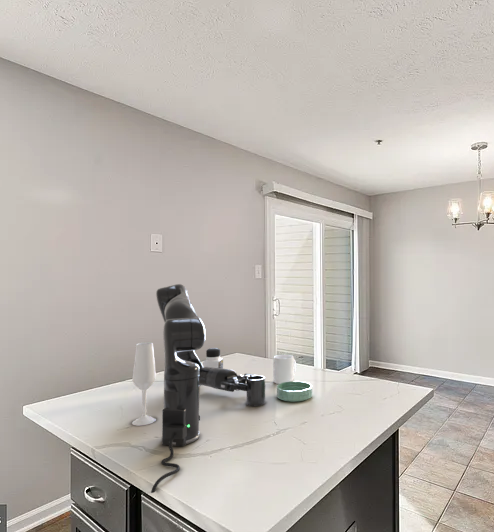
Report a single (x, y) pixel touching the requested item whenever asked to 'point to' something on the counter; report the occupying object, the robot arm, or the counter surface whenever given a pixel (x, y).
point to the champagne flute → (144, 376)
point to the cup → (255, 390)
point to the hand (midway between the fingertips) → (256, 384)
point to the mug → (283, 368)
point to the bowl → (294, 391)
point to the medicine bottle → (213, 358)
